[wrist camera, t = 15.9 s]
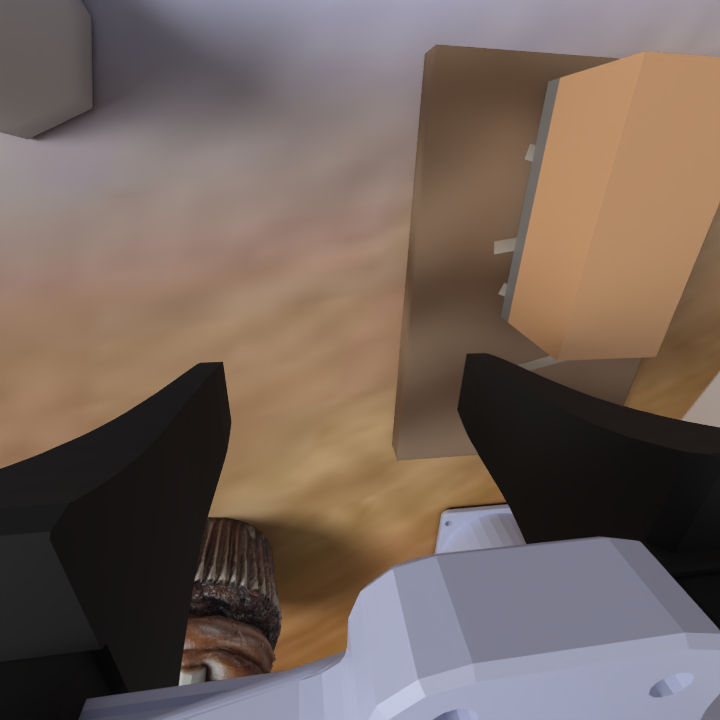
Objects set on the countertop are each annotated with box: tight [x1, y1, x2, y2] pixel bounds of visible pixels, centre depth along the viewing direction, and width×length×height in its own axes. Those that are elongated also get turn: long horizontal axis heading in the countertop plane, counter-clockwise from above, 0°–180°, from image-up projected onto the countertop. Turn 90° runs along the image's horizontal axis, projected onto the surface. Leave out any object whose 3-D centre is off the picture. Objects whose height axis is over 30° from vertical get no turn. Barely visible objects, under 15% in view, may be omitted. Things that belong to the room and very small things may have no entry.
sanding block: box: [501, 51, 720, 361], centre depth 16 cm, size 10×4×5 cm, turn 178°
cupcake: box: [179, 517, 282, 686], centre depth 23 cm, size 10×10×10 cm
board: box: [392, 45, 642, 460], centre depth 21 cm, size 20×14×2 cm
